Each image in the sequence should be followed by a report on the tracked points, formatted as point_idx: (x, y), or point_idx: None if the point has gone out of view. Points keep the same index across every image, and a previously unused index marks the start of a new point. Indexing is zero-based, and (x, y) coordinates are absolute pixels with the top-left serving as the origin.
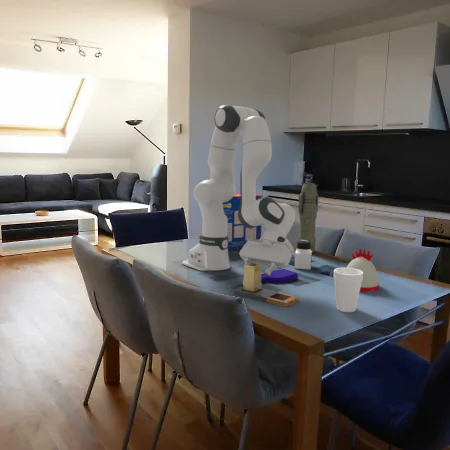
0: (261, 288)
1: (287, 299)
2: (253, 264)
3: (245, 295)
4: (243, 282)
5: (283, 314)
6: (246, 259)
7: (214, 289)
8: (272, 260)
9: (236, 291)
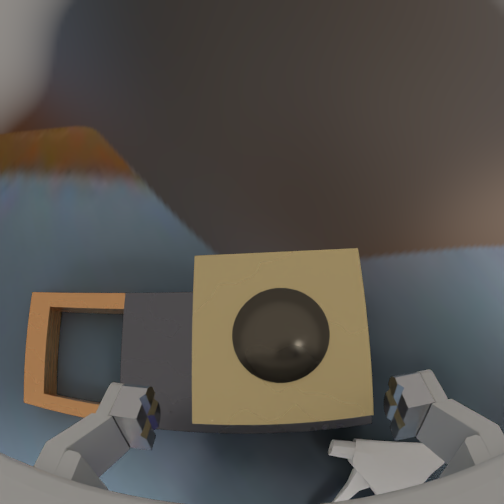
0: (249, 427)
1: (41, 339)
2: (267, 332)
3: None
4: (428, 448)
5: (35, 226)
6: (484, 438)
7: (464, 266)
8: (43, 478)
9: None
